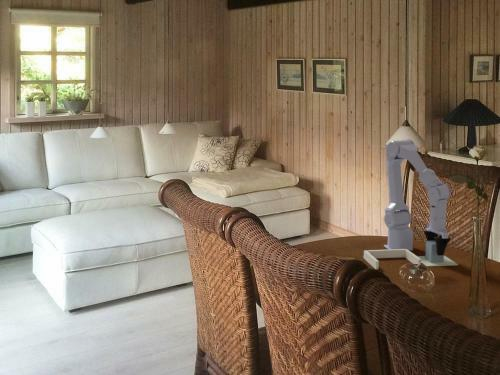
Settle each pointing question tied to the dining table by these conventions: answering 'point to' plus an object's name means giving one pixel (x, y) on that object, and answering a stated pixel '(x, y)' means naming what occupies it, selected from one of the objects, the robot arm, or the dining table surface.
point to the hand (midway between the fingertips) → (435, 252)
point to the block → (432, 252)
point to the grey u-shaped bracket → (389, 256)
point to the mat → (446, 262)
